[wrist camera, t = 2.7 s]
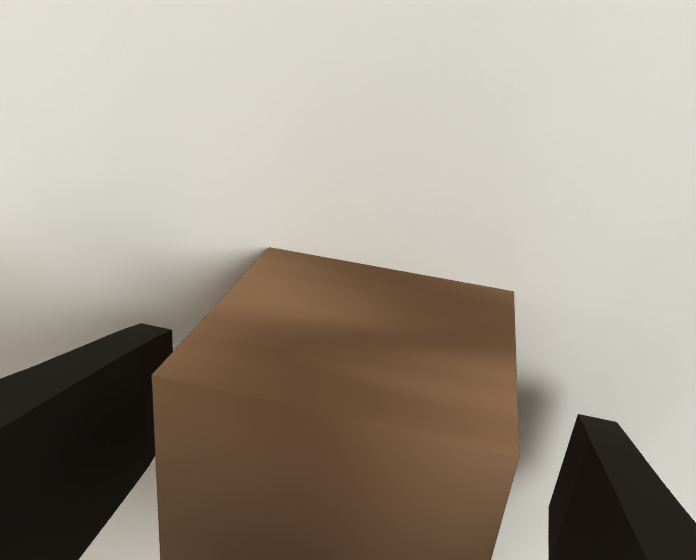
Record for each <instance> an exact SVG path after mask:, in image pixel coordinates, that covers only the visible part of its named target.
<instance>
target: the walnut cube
mask: <svg viewBox="0 0 696 560" xmlns="http://www.w3.org/2000/svg"><path fill="white" fill-rule="evenodd" d="M152 391H153V412H154V434H155V455H156V477H157V498H158V520H159V542H160V560H491V558H492V554H493V550H494V547H495V543H496V540H497V536H498V532H499V529H500V525H501V521H502V518H503V514H504V511H505V507H506V503H507V500H508V496H509V493H510V489H511V485H512V482H513V478H514V474H515V471H516V467H517V464H518V460H519V428H518V398H517V368H516V339H515V309H514V291H508V290H503V289H497V288H492V287H486V286H481V285H475V284H470V283H464V282H459V281H453V280H448V279H442V278H437V277H431V276H425V275H420V274H414V273H409V272H403V271H398V270H392V269H387V268H381V267H376V266H370V265H365V264H359V263H354V262H348V261H343V260H337V259H331V258H326V257H320V256H315V255H309V254H304V253H298V252H293V251H287V250H282V249H276V248H271V247H269V248H268V249H267V250H266V252H265V253H264V254H263V255H262V256H261V257H260V258H259V259H258V260H257V261H256V262H255V263H254V265H253V266H252V267H251V268H250V269H249V270H248V271H247V272H246V273H245V274H244V275H243V276H242V278H241V279H240V280H239V281H238V282H237V283H236V284H235V285H234V286H233V287H232V288H231V290H230V291H229V292H228V293H227V294H226V295H225V296H224V297H223V298H222V299H221V300H220V301H219V303H218V304H217V305H216V306H215V307H214V308H213V309H212V310H211V311H210V312H209V313H208V314H207V316H206V317H205V318H204V319H203V320H202V321H201V322H200V323H199V324H198V325H197V326H196V327H195V329H194V330H193V331H192V332H191V333H190V334H189V335H188V336H187V337H186V338H185V339H184V340H183V342H182V343H181V344H180V345H179V346H178V347H177V348H176V349H175V350H174V351H173V352H172V353H171V355H170V356H169V357H168V358H167V359H166V360H165V361H164V362H163V363H162V364H161V365H160V367H159V368H158V369H157V370H156V371H155V372H154V373H153V374H152Z"/></svg>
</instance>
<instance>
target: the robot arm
mask: <svg viewBox="0 0 696 560" xmlns="http://www.w3.org/2000/svg"><path fill="white" fill-rule="evenodd" d="M172 352H173V347H172V330H171V329H166V328H161V327H157V326H152V325H147V324H142V323H141V324H138V325H135V326H132V327H129V328H126V329H123V330H121V331H118V332H116V333H113V334H111V335H108V336H106V337H103V338H101V339H98V340H96V341H94V342H91V343H89V344H86V345H84V346H82V347H79V348H77V349H74V350H72V351H70V352H67V353H65V354H62V355H60V356H57V357H55V358H53V359H50V360H48V361H45V362H43V363H41V364H38V365H36V366H33V367H31V368H28V369H25V370H23V371H20V372H17V373H15V374H12V375H9V376H7V377H4V378H1V379H0V560H79V558H80V557H81V556H82V554H83V553H84V552H85V550H86V549H87V548H88V546H89V545H90V544H91V542H92V541H93V540H94V539H95V537H96V536H97V535H98V533H99V532H100V531H101V529H102V528H103V527H104V525H105V524H106V523H107V521H108V520H109V519H110V517H111V516H112V515H113V514H114V512H115V511H116V510H117V508H118V507H119V506H120V504H121V503H122V502H123V500H124V499H125V498H126V496H127V495H128V494H129V492H130V491H131V490H132V488H133V487H134V486H135V484H136V483H137V482H138V480H139V479H140V478H141V476H142V475H143V473H144V472H145V471H146V469H147V468H148V467H149V465H150V463H151V462H152V460H153V458H154V456H155V434H154V412H153V391H152V374H153V373H154V372H155V371H156V370H157V369H158V368H159V367H160V365H161V364H162V363H163V362H164V361H165V360H166V359H167V358H168V357H169V356H170V355H171V353H172ZM548 540H549V560H696V523H695V521H694V520H693V519H692V518H691V517H690V515H689V514H688V513H687V512H686V511H685V509H684V508H683V507H682V506H681V504H680V503H679V502H678V501H677V499H676V498H675V497H674V496H673V494H672V493H671V492H670V491H669V489H668V488H667V487H666V486H665V484H664V483H663V482H662V480H661V479H660V478H659V477H658V475H657V474H656V473H655V471H654V470H653V469H652V467H651V466H650V465H649V463H648V462H647V461H646V460H645V458H644V457H643V456H642V454H641V453H640V452H639V450H638V449H637V448H636V446H635V445H634V444H633V442H632V441H631V440H630V438H629V437H628V436H627V434H626V433H625V432H624V431H623V429H622V428H621V427H620V426H619V424H618V423H617V422H614V421H609V420H604V419H599V418H595V417H590V416H585V415H580V414H578V416H577V419H576V422H575V425H574V428H573V432H572V435H571V438H570V441H569V444H568V447H567V451H566V454H565V457H564V460H563V463H562V466H561V470H560V473H559V476H558V479H557V482H556V485H555V489H554V492H553V495H552V498H551V501H550V504H549V535H548Z"/></svg>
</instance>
